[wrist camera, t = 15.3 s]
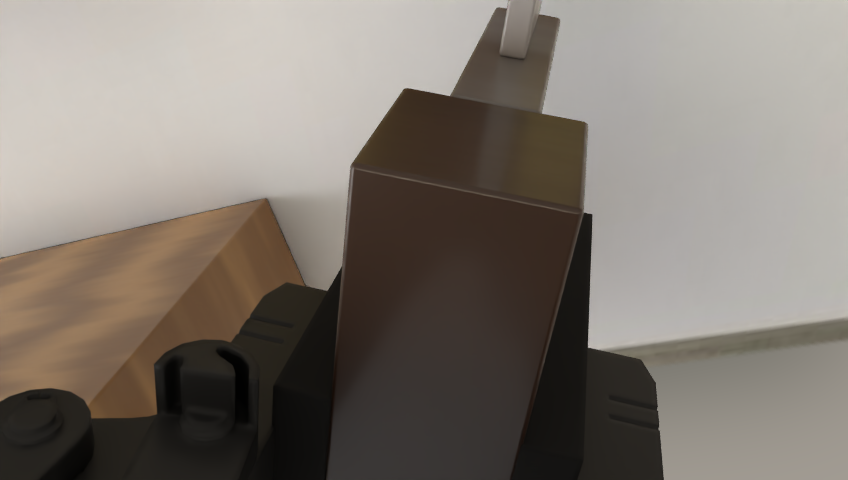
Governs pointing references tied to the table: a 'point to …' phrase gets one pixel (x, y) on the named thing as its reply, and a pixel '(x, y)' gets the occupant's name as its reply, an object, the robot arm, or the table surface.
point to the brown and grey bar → (456, 266)
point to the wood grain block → (134, 303)
